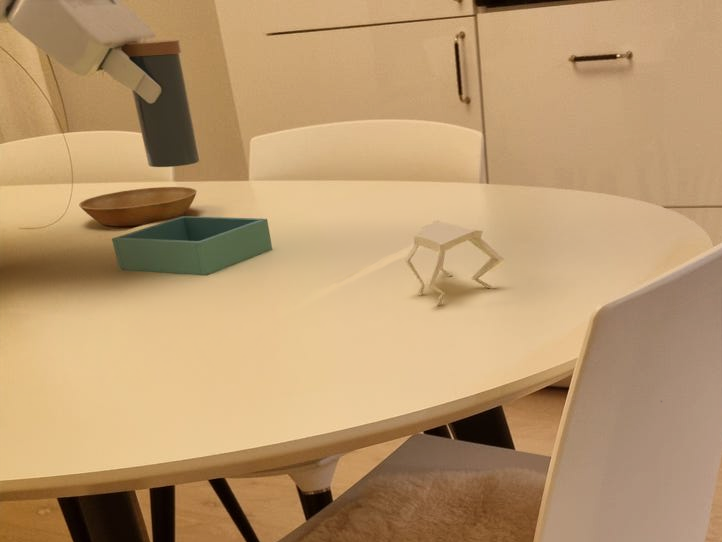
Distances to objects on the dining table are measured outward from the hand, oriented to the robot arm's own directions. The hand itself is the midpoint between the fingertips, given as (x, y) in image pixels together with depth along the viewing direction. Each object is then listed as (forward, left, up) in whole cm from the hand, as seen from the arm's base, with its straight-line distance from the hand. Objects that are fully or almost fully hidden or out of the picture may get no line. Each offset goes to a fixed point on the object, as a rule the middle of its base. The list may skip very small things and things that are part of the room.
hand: (167, 94), depth 90 cm
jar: (-1, 0, -6) cm, 6 cm away
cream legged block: (+31, -3, -16) cm, 35 cm away
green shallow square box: (0, 0, -15) cm, 15 cm away
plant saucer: (-25, +20, -16) cm, 36 cm away
